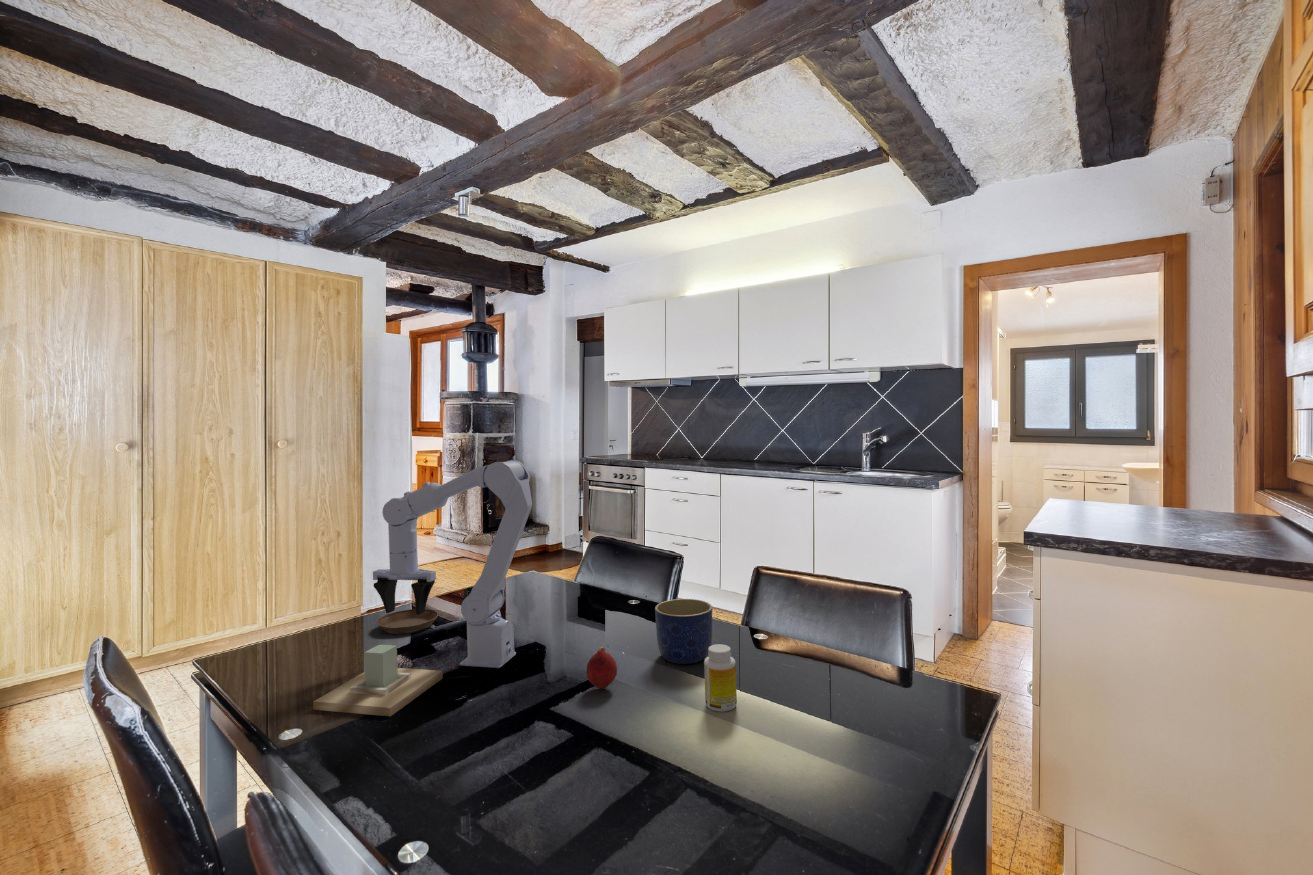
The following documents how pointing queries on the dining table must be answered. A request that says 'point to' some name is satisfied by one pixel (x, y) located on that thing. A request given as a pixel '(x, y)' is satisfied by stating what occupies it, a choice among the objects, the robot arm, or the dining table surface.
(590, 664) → the onion
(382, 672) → the sage block
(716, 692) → the supplement bottle
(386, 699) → the display plinth
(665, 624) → the planter
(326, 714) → the dining table surface
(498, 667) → the robot arm
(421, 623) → the saucer
